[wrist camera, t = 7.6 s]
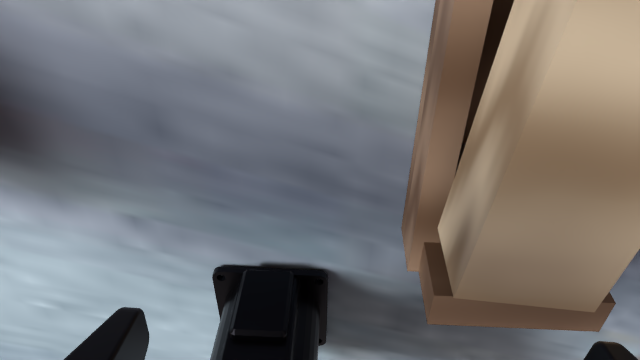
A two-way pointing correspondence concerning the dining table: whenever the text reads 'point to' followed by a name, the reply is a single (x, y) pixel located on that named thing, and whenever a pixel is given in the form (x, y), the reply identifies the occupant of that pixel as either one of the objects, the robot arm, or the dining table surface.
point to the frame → (443, 160)
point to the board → (551, 161)
